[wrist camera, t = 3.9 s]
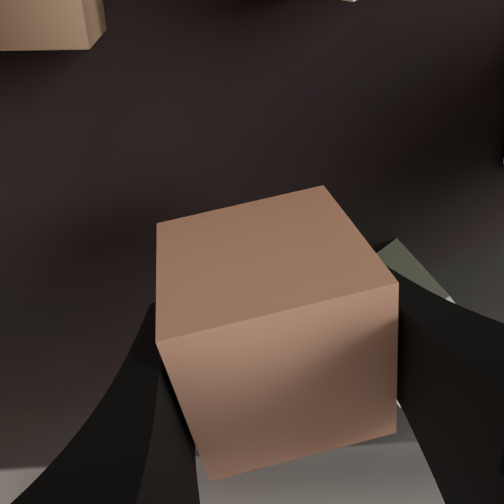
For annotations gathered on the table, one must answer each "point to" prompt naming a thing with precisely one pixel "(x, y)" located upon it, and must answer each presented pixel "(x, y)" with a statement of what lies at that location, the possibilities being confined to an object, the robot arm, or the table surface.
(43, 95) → the table surface
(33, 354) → the table surface
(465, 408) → the robot arm
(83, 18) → the tan cube
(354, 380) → the terracotta cube
